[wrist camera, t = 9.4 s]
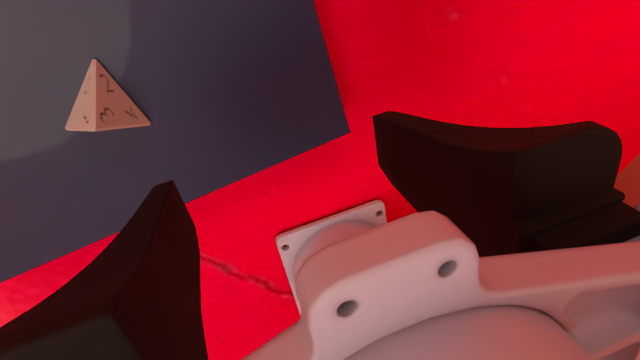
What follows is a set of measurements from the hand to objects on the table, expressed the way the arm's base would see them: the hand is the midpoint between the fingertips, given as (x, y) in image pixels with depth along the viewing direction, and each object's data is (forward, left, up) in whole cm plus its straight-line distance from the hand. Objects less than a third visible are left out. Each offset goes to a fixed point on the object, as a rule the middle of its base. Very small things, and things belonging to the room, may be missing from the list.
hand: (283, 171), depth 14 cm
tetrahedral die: (+2, +6, -7) cm, 9 cm away
